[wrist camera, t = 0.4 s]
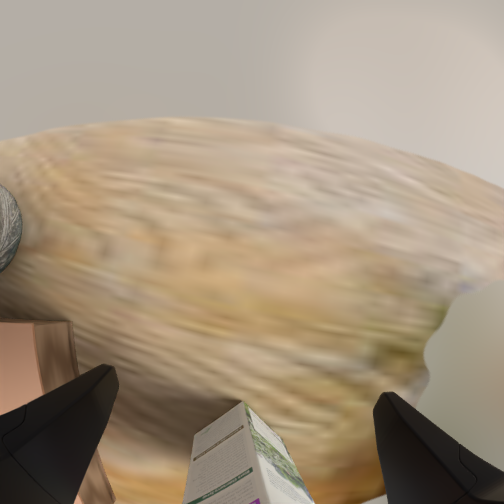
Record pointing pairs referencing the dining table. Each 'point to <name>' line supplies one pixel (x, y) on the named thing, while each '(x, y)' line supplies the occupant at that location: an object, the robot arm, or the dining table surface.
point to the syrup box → (242, 464)
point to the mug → (8, 227)
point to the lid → (19, 369)
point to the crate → (56, 374)
